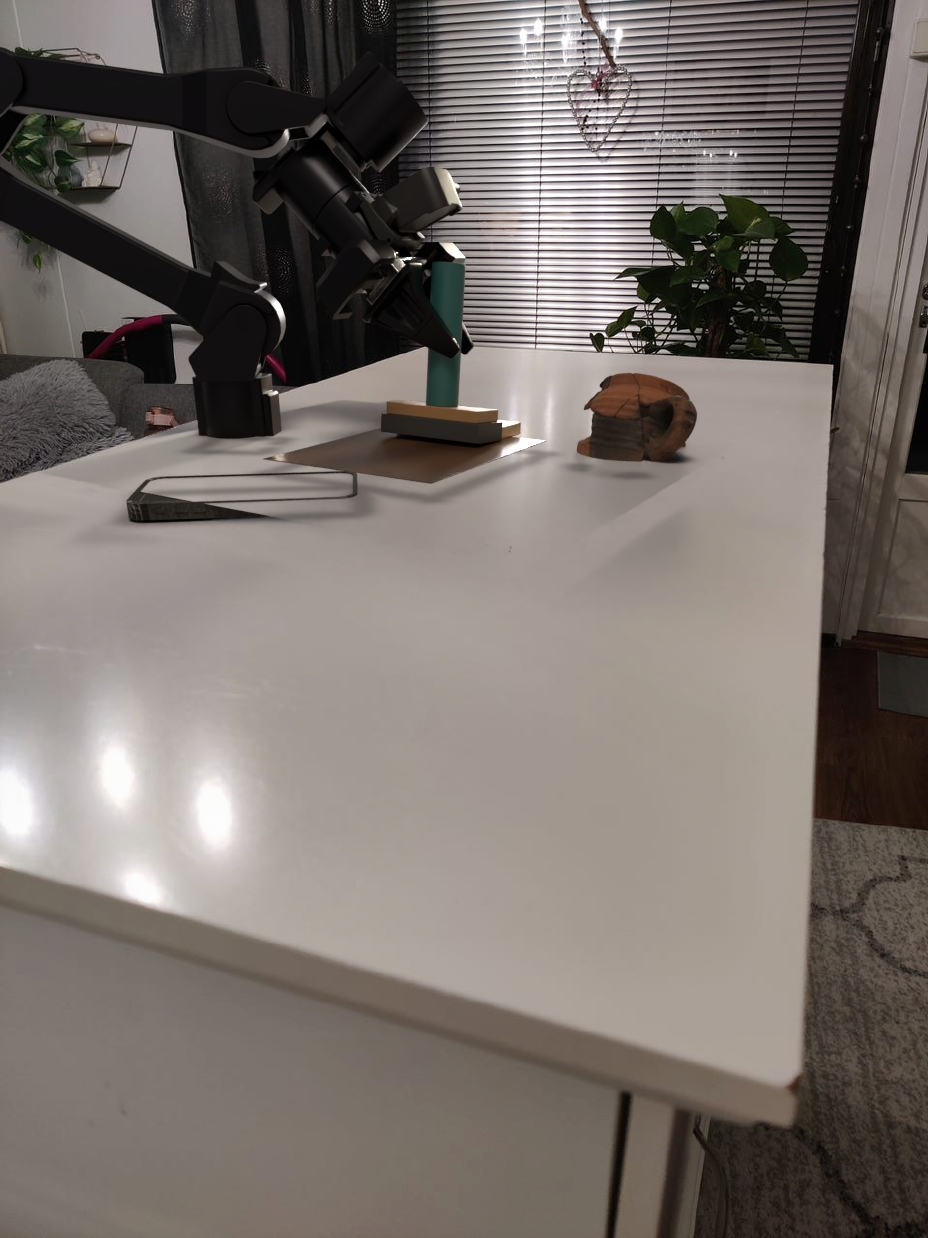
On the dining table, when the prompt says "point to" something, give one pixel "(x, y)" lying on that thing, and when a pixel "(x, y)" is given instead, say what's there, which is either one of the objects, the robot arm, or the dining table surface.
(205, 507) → the black flat open frame
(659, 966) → the dining table surface
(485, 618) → the dining table surface
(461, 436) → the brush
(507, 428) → the tan flat wooden slab
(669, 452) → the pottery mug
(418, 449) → the tray
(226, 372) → the robot arm
